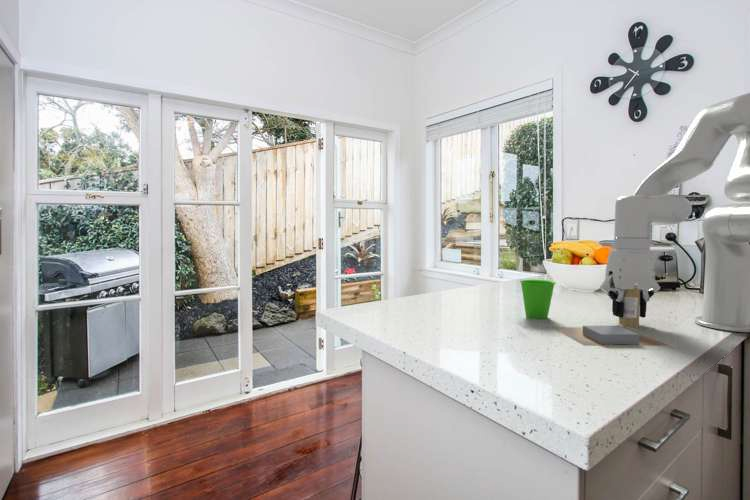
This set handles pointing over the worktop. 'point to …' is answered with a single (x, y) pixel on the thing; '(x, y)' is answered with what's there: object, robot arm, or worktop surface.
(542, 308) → the cup
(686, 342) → the worktop surface
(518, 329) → the worktop surface
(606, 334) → the tile
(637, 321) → the sprinkles bottle
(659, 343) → the board
